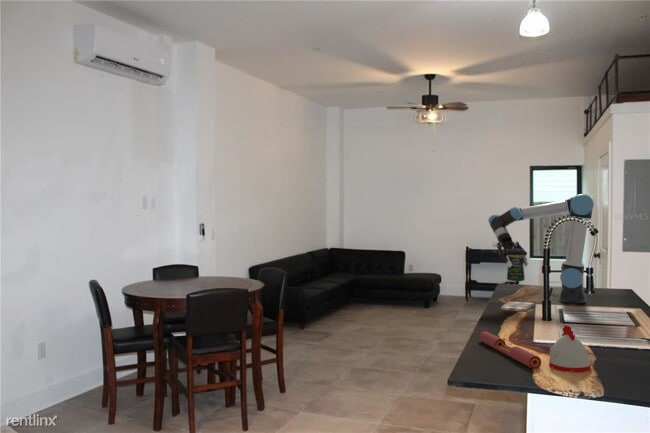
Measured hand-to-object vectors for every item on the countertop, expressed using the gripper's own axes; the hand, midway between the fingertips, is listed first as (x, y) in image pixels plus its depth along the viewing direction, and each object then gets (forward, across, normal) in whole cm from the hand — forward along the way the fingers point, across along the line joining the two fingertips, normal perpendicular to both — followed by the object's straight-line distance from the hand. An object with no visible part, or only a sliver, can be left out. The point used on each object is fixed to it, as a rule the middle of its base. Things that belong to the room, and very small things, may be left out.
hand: (518, 265), depth 321 cm
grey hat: (+92, +47, +57) cm, 118 cm away
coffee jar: (+4, 0, -9) cm, 10 cm away
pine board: (+15, 0, -19) cm, 25 cm away
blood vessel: (+76, +59, +41) cm, 104 cm away
